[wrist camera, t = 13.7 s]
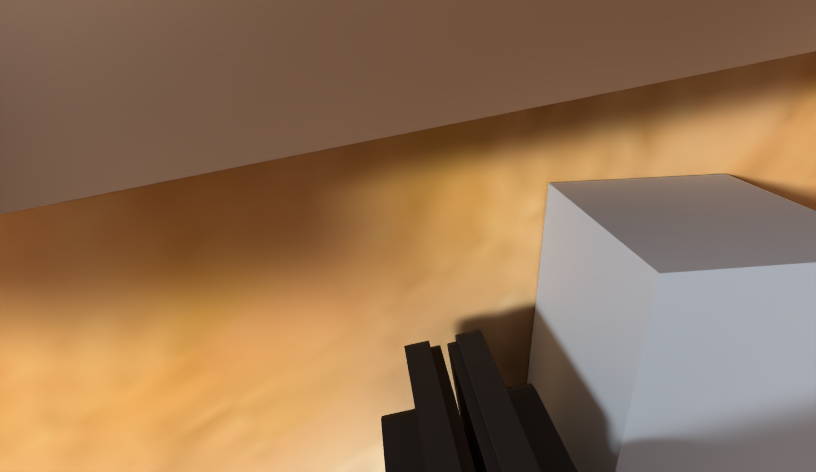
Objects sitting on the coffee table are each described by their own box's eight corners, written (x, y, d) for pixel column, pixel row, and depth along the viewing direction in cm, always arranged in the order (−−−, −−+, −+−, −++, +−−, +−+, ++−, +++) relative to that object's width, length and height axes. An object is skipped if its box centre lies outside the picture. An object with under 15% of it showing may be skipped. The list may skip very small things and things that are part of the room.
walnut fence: (874, 500, 16) (1026, 639, 13) (277, 639, 16) (257, 828, 12) (1105, -175, 9) (1647, -312, 5) (-31, 39, 8) (-341, 58, 4)
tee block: (735, 483, 15) (858, 631, 11) (411, 521, 14) (434, 697, 10) (850, 167, 11) (1101, 242, 7) (406, 189, 10) (441, 288, 6)
